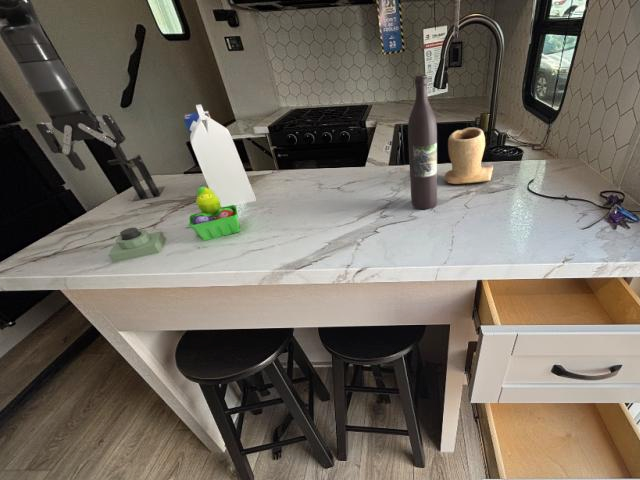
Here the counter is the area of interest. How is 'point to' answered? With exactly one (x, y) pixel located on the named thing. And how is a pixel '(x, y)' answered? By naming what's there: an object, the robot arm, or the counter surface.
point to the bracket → (152, 190)
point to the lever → (129, 163)
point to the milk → (220, 161)
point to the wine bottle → (422, 149)
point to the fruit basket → (213, 216)
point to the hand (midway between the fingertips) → (103, 166)
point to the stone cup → (467, 157)
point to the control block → (137, 246)
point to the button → (130, 233)
